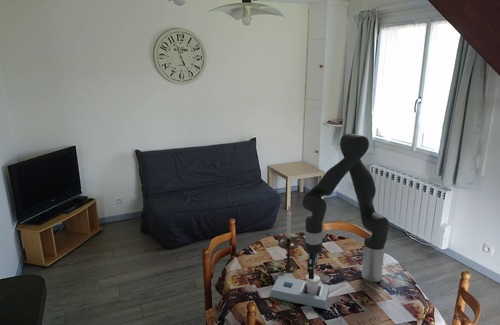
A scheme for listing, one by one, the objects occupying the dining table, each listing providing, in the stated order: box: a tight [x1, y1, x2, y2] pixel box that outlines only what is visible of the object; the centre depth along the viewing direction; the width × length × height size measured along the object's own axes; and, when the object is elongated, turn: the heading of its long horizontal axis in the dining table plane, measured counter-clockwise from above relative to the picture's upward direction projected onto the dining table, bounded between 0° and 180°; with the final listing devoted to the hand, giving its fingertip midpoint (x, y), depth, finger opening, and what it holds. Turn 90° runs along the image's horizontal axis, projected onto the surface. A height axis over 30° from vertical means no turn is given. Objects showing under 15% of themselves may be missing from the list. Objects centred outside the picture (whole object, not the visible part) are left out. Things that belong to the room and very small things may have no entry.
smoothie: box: [305, 273, 321, 296], centre depth 154 cm, size 6×6×14 cm
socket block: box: [271, 275, 331, 310], centre depth 156 cm, size 12×24×4 cm, turn 70°
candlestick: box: [277, 205, 300, 273], centre depth 175 cm, size 11×11×35 cm
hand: (312, 273), depth 152 cm, fingers open, 8 cm apart
